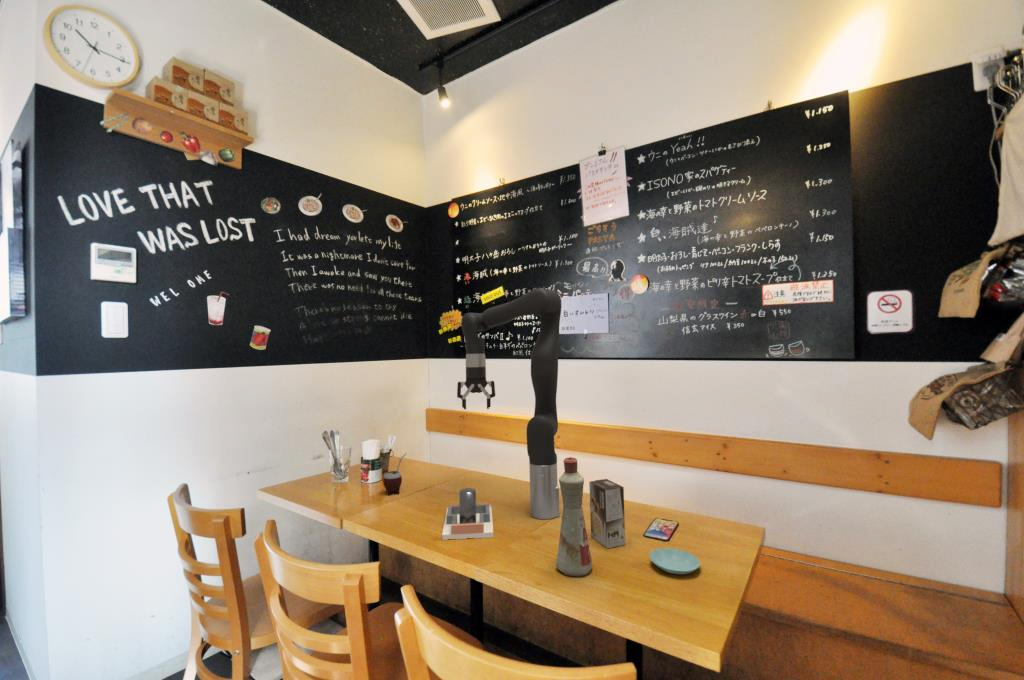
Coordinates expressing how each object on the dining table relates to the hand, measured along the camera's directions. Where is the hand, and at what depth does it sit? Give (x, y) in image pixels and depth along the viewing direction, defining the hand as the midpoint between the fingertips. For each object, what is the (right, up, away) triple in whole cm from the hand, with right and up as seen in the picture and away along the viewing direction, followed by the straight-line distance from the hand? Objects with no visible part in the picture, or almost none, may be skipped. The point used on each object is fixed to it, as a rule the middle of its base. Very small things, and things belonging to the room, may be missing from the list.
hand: (476, 408), depth 166 cm
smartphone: (+58, -32, -34) cm, 74 cm away
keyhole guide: (0, -33, -26) cm, 42 cm away
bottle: (+29, -32, -56) cm, 70 cm away
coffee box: (+41, -32, -40) cm, 65 cm away
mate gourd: (-33, -34, +7) cm, 48 cm away
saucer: (+54, -31, -56) cm, 84 cm away
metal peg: (0, -31, -32) cm, 45 cm away
